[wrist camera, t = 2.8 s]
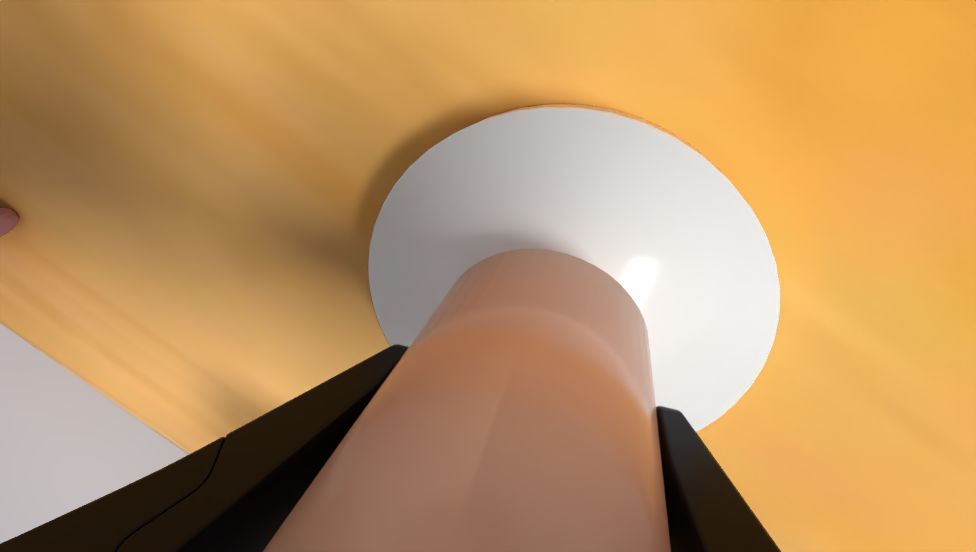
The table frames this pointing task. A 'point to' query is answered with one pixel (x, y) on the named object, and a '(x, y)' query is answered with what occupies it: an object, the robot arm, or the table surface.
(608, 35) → the table surface
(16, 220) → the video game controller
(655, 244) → the coaster
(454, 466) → the cup
